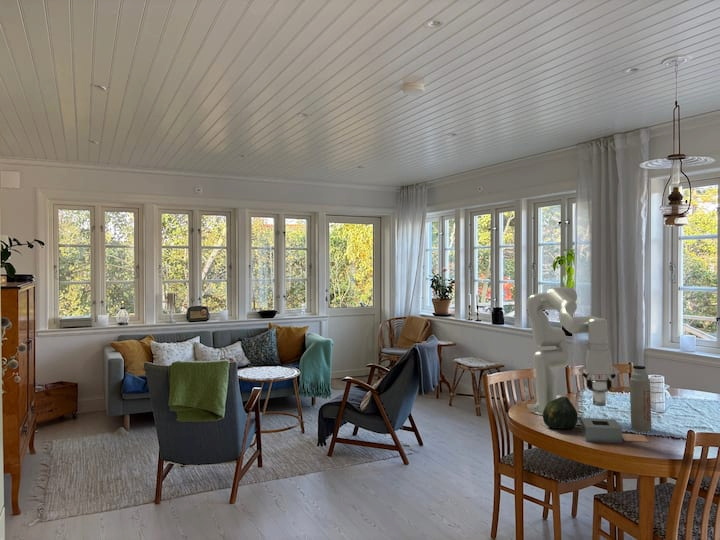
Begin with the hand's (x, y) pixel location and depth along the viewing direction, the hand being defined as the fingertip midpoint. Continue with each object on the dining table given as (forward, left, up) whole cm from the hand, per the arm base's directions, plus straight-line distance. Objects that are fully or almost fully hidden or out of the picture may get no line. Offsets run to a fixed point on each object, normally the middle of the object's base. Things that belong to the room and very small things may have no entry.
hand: (599, 388), depth 227 cm
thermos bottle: (+19, +15, -21) cm, 32 cm away
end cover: (0, 0, -7) cm, 7 cm away
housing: (0, 0, -21) cm, 21 cm away
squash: (-15, +12, -21) cm, 28 cm away
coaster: (+13, +1, -21) cm, 24 cm away
